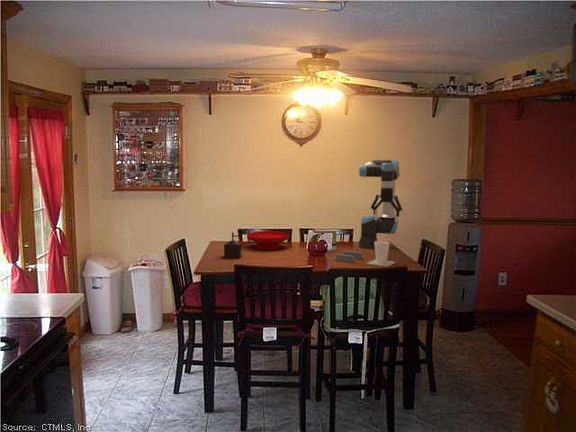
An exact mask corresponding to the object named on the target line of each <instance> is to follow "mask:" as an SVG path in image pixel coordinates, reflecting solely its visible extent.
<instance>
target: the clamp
mask: <svg viewBox="0 0 576 432" xmlns="http://www.w3.org/2000/svg"><path fill="white" fill-rule="evenodd" d="M363 258H364V253H363V252H361V251H351V250H344V254H343V253H336V254H335V257H334V258H332V261H336V262H344V263H352V264H354V263H355V262H356V260H362V259H363ZM363 260H364V259H363Z"/></svg>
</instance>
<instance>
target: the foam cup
mask: <svg viewBox="0 0 576 432" xmlns="http://www.w3.org/2000/svg"><path fill="white" fill-rule="evenodd" d="M374 246H375V248H374V252H375V260H376V263H381V264H384V263H386V262H387V261H388V257H389V256H388V255H389V249H390V242H389V241H387V240H386V241H385V240H380V241H379V240H378V241H375V242H374Z"/></svg>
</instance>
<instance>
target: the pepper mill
mask: <svg viewBox="0 0 576 432" xmlns="http://www.w3.org/2000/svg"><path fill="white" fill-rule="evenodd" d="M237 232H238V234H237V235H235V234H234V232H231V240H230V241H227V242H225V243H224V244H223V250H224V251H223V254H224V255H223V258H224V260H225V259H226V260H227V259H228V260H231V259H232V260H235V259H236V260H241V258H242V257H243V255H242V250H243V249H242V243H243V242H241V241H239V240H235V239H234V238H238V237H241V236H243V232H244V229H242V228H238V229H237Z"/></svg>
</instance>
